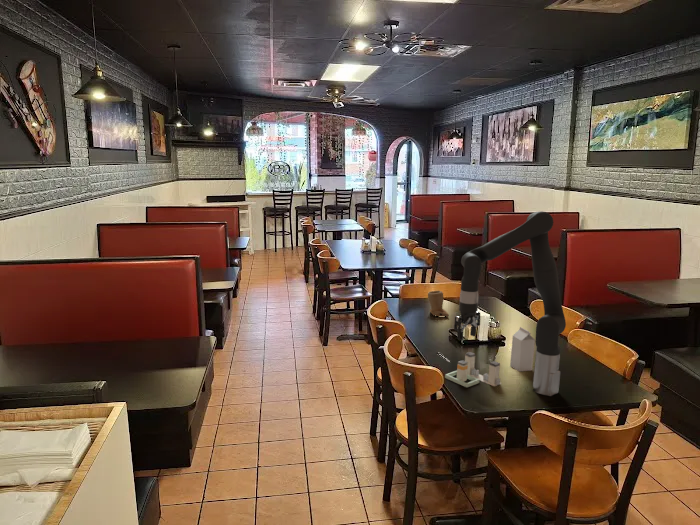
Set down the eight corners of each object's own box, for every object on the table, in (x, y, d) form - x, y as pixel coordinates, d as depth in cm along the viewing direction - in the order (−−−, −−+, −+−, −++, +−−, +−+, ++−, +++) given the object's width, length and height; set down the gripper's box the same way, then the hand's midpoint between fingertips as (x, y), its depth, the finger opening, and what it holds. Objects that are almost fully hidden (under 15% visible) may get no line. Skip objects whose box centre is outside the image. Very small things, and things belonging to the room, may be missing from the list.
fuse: (466, 382, 219) (467, 362, 218) (461, 383, 218) (463, 363, 216) (461, 379, 222) (462, 360, 220) (456, 381, 220) (457, 361, 218)
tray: (478, 386, 218) (479, 379, 217) (466, 390, 213) (467, 384, 212) (457, 376, 227) (457, 370, 226) (444, 380, 222) (445, 374, 221)
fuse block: (501, 386, 217) (503, 363, 215) (494, 389, 214) (496, 366, 212) (467, 372, 232) (469, 350, 230) (460, 375, 229) (461, 352, 226)
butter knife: (440, 351, 256) (435, 352, 255) (469, 373, 231) (463, 374, 230) (440, 352, 256) (435, 353, 255) (469, 374, 231) (463, 375, 230)
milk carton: (518, 372, 233) (522, 332, 230) (509, 366, 240) (513, 327, 237) (532, 370, 235) (535, 331, 232) (523, 364, 242) (526, 326, 238)
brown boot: (425, 311, 326) (426, 288, 323) (443, 311, 327) (445, 288, 324) (429, 318, 311) (431, 294, 309) (449, 318, 312) (450, 294, 309)
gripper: (465, 305, 206) (462, 343, 209) (486, 300, 215) (484, 336, 218) (450, 301, 212) (448, 338, 215) (472, 296, 221) (470, 332, 224)
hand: (466, 337), depth 217 cm, fingers open, 8 cm apart
